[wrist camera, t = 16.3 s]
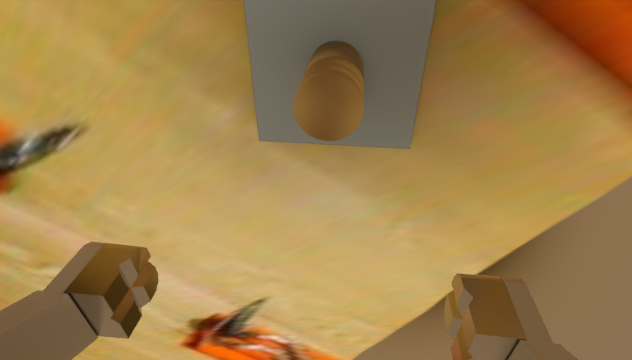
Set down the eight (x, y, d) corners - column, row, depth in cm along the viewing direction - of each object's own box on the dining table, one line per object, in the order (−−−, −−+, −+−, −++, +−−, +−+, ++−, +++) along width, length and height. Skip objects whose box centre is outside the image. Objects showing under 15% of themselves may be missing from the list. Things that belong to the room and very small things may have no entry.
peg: (365, 41, 27) (366, 76, 20) (361, 96, 29) (361, 142, 23) (308, 39, 27) (292, 74, 21) (309, 93, 30) (294, 139, 23)
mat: (439, -32, 24) (441, -31, 24) (408, 144, 32) (409, 148, 32) (243, -33, 25) (240, -32, 25) (261, 136, 34) (259, 140, 33)
